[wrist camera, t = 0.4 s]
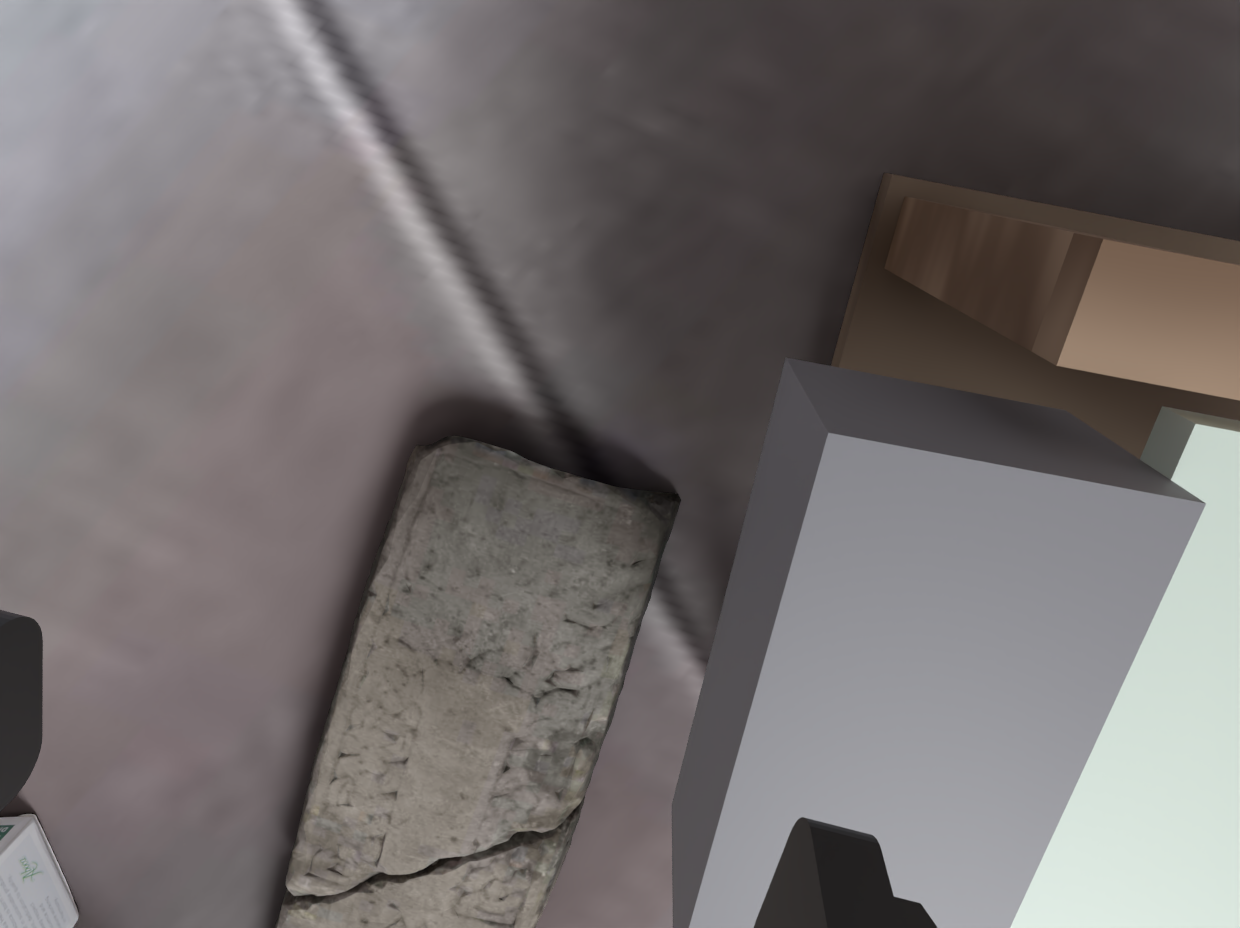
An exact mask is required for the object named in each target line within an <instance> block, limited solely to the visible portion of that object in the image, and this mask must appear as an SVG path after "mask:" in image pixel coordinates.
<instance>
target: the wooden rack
mask: <svg viewBox="0 0 1240 928" xmlns="http://www.w3.org/2000/svg"><path fill="white" fill-rule="evenodd" d="M831 366H834V367H839V368H844V369H850V370H855V371H860V372H866V373H871V374H876V375H881V376H887V377H892V378H897V379H903V380H908V381H913V382H918V383H924V384H929V385H934V386H940V387H945V388H950V389H955V390H961V391H966V392H971V393H977V394H982V395H987V396H993V397H998V398H1003V399H1008V400H1014V401H1019V402H1024V403H1030V404H1035V405H1040V406H1045V407H1051V408H1056V409H1061V410H1066V411H1067V412H1069V413H1070V414H1072V415H1073V416H1075V417H1076V418H1078V419H1079V420H1081V421H1082V422H1084V423H1086V424H1087V425H1089V426H1090V427H1092V428H1093V429H1095V430H1096V431H1098V432H1099V433H1101V434H1102V435H1104V436H1105V437H1107V438H1108V439H1110V440H1111V441H1113V442H1114V443H1116V444H1117V445H1119V446H1120V447H1122V448H1123V449H1125V450H1126V451H1128V452H1129V453H1131V454H1132V455H1134V456H1135V457H1137V458H1138V459H1140V457H1141V455H1142V453H1143V450H1144V448H1145V446H1146V443H1147V441H1148V438H1149V436H1150V434H1151V431H1152V429H1153V427H1154V424H1155V422H1156V420H1157V417H1158V415H1159V413H1160V410H1161V408H1162V406H1164V407H1169V408H1174V409H1180V410H1185V411H1190V412H1195V413H1201V414H1206V415H1211V416H1217V417H1222V418H1227V419H1232V420H1238V421H1240V241H1236V240H1231V239H1226V238H1221V237H1215V236H1210V235H1205V234H1200V233H1195V232H1189V231H1184V230H1179V229H1174V228H1169V227H1164V226H1158V225H1153V224H1148V223H1143V222H1138V221H1132V220H1127V219H1122V218H1117V217H1112V216H1107V215H1101V214H1096V213H1091V212H1086V211H1081V210H1075V209H1070V208H1065V207H1060V206H1055V205H1050V204H1044V203H1039V202H1034V201H1029V200H1024V199H1018V198H1013V197H1008V196H1003V195H998V194H992V193H987V192H982V191H977V190H972V189H967V188H961V187H956V186H951V185H946V184H941V183H935V182H930V181H925V180H920V179H915V178H910V177H904V176H899V175H894V174H887V173H884V174H883V178H882V181H881V185H880V188H879V192H878V196H877V199H876V203H875V207H874V210H873V214H872V218H871V221H870V225H869V229H868V232H867V236H866V239H865V243H864V247H863V250H862V254H861V258H860V261H859V265H858V269H857V272H856V276H855V279H854V283H853V287H852V290H851V294H850V298H849V301H848V305H847V309H846V312H845V316H844V320H843V323H842V327H841V330H840V334H839V338H838V341H837V345H836V349H835V352H834V356H833V360H832V363H831Z"/></svg>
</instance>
